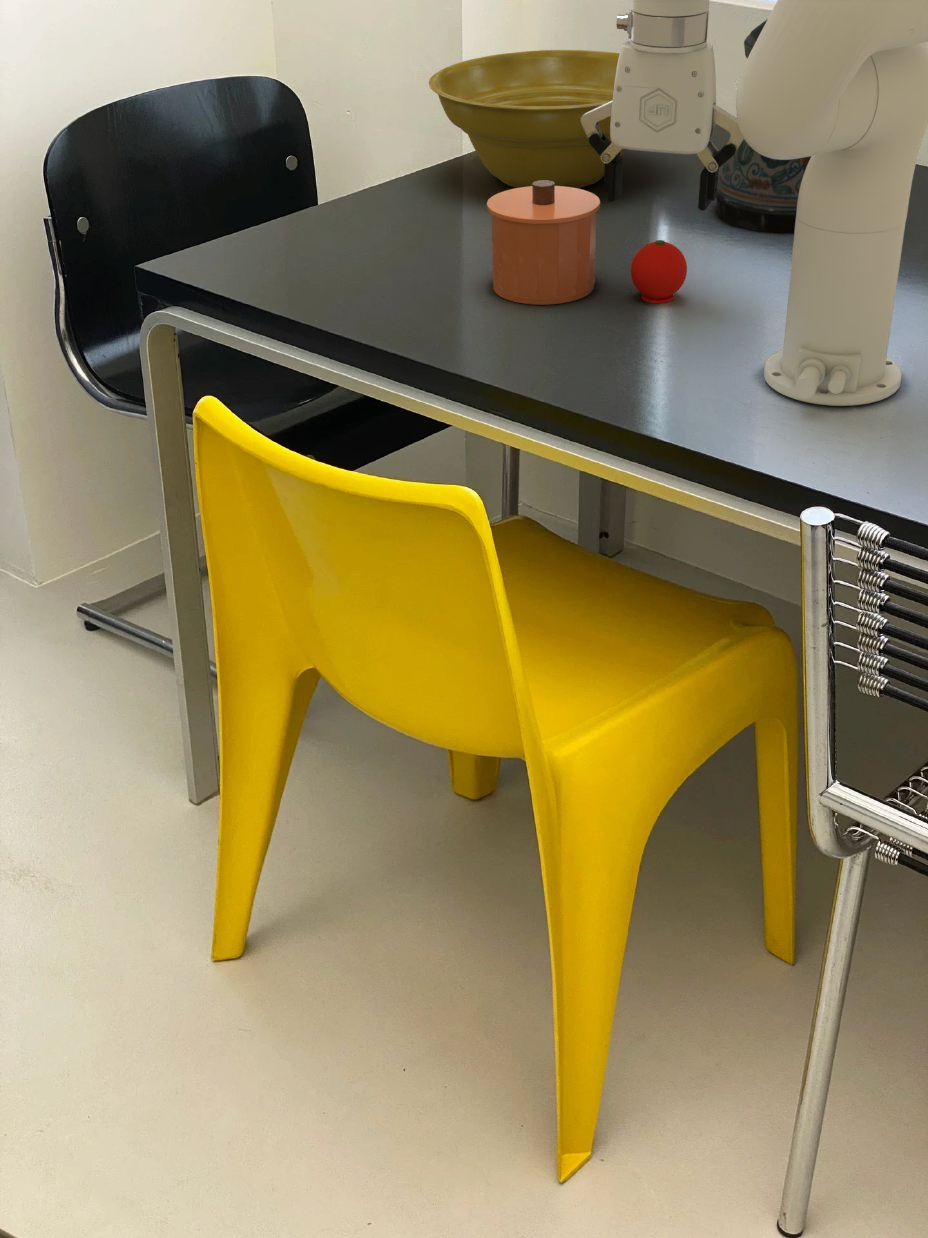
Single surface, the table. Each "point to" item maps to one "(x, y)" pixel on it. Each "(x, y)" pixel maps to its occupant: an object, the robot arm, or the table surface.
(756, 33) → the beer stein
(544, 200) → the pot lid
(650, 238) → the table surface
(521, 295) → the pot
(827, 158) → the robot arm
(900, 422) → the table surface
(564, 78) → the planter bowl
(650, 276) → the tomato
